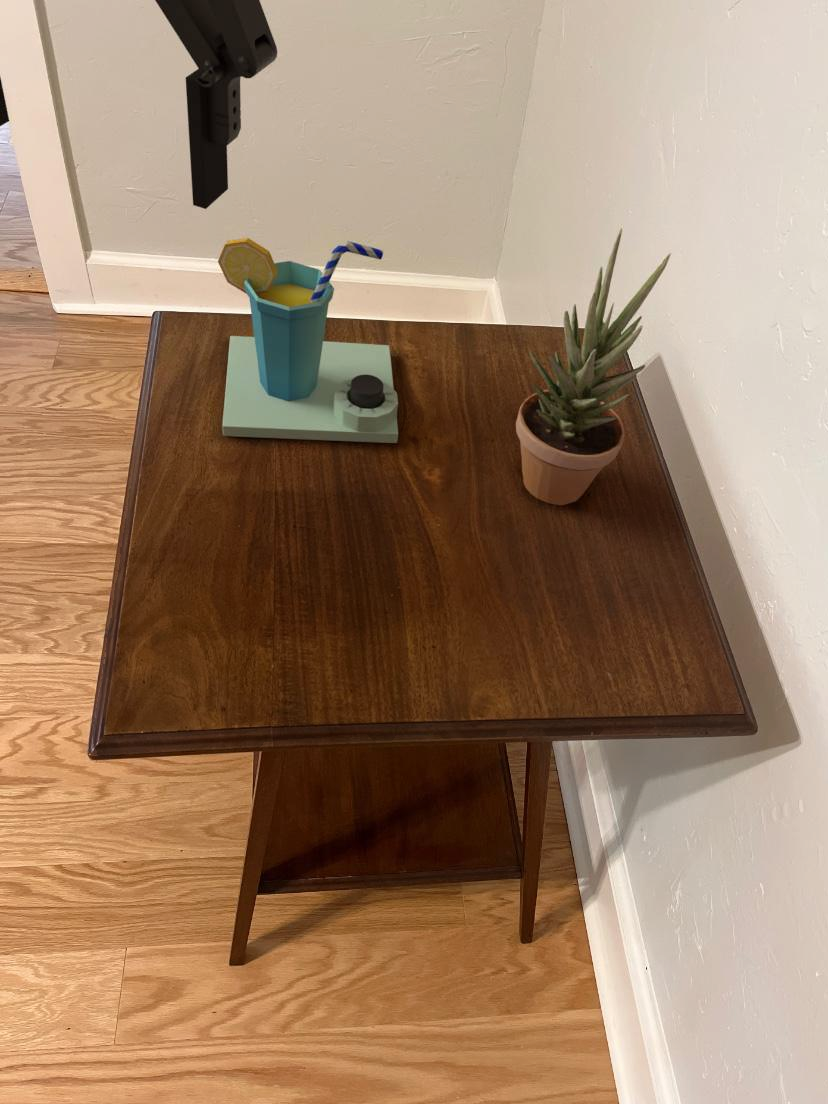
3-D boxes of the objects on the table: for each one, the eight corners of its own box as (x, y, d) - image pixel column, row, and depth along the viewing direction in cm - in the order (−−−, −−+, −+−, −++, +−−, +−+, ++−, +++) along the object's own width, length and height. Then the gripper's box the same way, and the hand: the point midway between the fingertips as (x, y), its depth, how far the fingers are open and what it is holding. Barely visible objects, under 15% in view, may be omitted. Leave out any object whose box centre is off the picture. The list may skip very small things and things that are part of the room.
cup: (368, 363, 91) (381, 221, 80) (372, 413, 86) (386, 268, 75) (225, 356, 89) (217, 207, 77) (221, 406, 84) (211, 255, 72)
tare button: (350, 408, 84) (351, 393, 83) (349, 388, 86) (350, 373, 84) (382, 410, 84) (384, 395, 83) (381, 390, 86) (382, 375, 85)
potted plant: (606, 461, 88) (693, 219, 70) (599, 528, 82) (693, 282, 64) (506, 438, 88) (566, 190, 70) (491, 502, 82) (553, 250, 64)
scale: (222, 436, 83) (221, 410, 81) (230, 345, 92) (229, 319, 89) (397, 443, 86) (400, 418, 83) (388, 354, 95) (391, 329, 92)
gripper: (-346, -474, 33) (-149, 123, 49) (286, -306, 31) (277, 257, 48) (-193, -461, 38) (-58, 78, 54) (362, -316, 36) (331, 198, 52)
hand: (98, 162), depth 51 cm, fingers open, 13 cm apart
